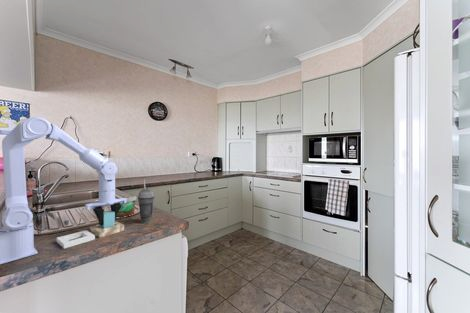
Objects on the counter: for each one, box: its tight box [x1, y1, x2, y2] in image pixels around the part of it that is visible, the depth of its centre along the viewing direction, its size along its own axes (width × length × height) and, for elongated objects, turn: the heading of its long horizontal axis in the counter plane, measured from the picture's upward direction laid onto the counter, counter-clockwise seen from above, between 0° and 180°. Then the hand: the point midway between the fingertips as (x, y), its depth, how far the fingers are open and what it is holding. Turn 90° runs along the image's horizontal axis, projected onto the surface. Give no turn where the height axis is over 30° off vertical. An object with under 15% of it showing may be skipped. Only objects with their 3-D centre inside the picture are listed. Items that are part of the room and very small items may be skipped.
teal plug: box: [100, 209, 115, 229], centre depth 82 cm, size 4×4×8 cm
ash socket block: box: [90, 220, 125, 239], centre depth 82 cm, size 9×9×2 cm
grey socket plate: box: [56, 229, 96, 249], centre depth 73 cm, size 9×9×2 cm
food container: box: [115, 195, 138, 217], centre depth 101 cm, size 12×6×10 cm, turn 105°
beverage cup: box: [137, 179, 155, 224], centre depth 94 cm, size 7×7×20 cm
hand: (107, 223), depth 82 cm, fingers closed on teal plug, 4 cm apart
